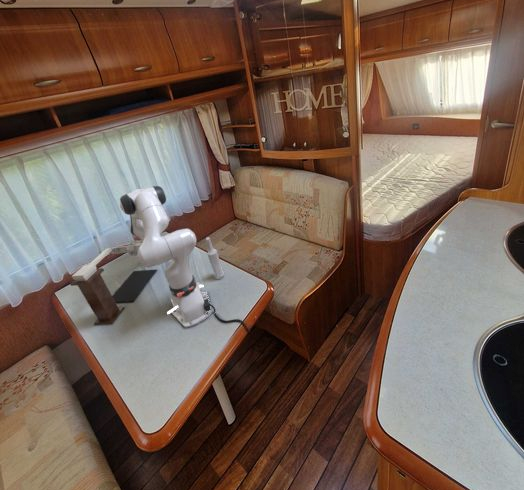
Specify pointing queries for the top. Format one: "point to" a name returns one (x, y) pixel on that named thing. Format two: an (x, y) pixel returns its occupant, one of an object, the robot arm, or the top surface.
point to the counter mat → (133, 286)
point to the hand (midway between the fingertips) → (118, 250)
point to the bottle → (214, 260)
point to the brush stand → (99, 298)
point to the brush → (90, 267)
